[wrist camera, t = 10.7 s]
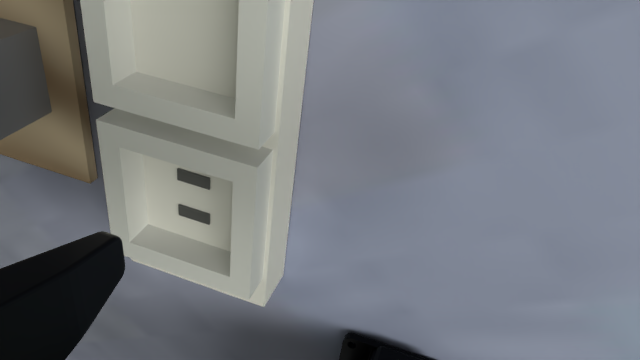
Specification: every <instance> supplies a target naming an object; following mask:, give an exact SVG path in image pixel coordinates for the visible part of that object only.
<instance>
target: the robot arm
mask: <svg viewBox="0 0 640 360" xmlns="http://www.w3.org/2000/svg"><path fill="white" fill-rule="evenodd" d="M124 270H125V260H124V251H123V243H122V240H121V238H120V237H118V236H116V235H113V234H110V233H107V232H97V233H95V234H92V235H89V236H87V237H84V238H81V239H79V240H76V241H73V242H71V243H68V244H65V245H63V246H60V247H57V248H55V249H52V250H49V251H47V252H44V253H41V254H38V255H36V256H33V257H30V258H28V259H25V260H22V261H20V262H17V263H14V264H12V265H9V266H6V267H4V268H1V269H0V360H65V359H66V358H67V356H68V355H69V354H70V353H71V351H72V350H73V349H74V348H75V346H76V345H77V344H78V343H79V341H80V340H81V339H82V337H83V336H84V334H85V333H86V331H87V330H88V329H89V327H90V325H91V324H92V322H93V321H94V319H95V318H96V316H97V315H98V313H99V312H100V310H101V309H102V307H103V306H104V304H105V302H106V301H107V299H108V298H109V296H110V295H111V293H112V292H113V290H114V289H115V287H116V286H117V284H118V282H119V281H120V279H121V278H122V276H123V274H124ZM339 360H429V359H426V358H423V357H420V356H417V355H415V354H412V353H409V352H406V351H403V350H400V349H398V348H395V347H392V346H389V345H386V344H383V343H381V342H378V341H375V340H372V339H369V338H366V337H364V336H361V335H358V334H355V333H348V334H346V336H345V338H344V340H343V344H342V348H341V353H340V358H339Z"/></svg>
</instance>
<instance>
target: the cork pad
mask: <svg viewBox="0 0 640 360" xmlns="http://www.w3.org/2000/svg"><path fill="white" fill-rule="evenodd" d="M0 18H3V19H7V20H11V21H15V22H19V23H23V24H26V25H30V26H34V27H36V29H37V34H38V39H39V45H40V50H41V55H42V61H43V66H44V72H45V77H46V82H47V88H48V93H49V98H50V104H51V109H52V112H51V113H49V114H47V115H46V116H44V117H42V118H40V119H38V120H36V121H35V122H33V123H31V124H29V125H27V126H25V127H24V128H22V129H20V130H18V131H16V132H14V133H13V134H11V135H9V136H7V137H5V138H3V139H2V140H0V154H2V155H5V156H8V157H11V158H14V159H17V160H20V161H23V162H26V163H29V164H32V165H35V166H38V167H41V168H44V169H47V170H51V171H54V172H57V173H60V174H63V175H66V176H69V177H72V178H75V179H78V180H81V181H84V182H87V183H92V182H93V181H94V180H96V179H97V178H98V177H97V170H96V163H95V156H94V149H93V141H92V134H91V127H90V120H89V113H88V105H87V98H86V91H85V84H84V77H83V70H82V62H81V55H80V48H79V41H78V34H77V26H76V19H75V12H74V5H73V0H0Z"/></svg>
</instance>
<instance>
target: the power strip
mask: <svg viewBox="0 0 640 360" xmlns="http://www.w3.org/2000/svg"><path fill="white" fill-rule="evenodd" d="M313 1H314V0H80V3H81V11H82V18H83V26H84V34H85V41H86V49H87V56H88V64H89V72H90V79H91V87H92V94H93V102H95V103H99V104H102V105H106V106H109V107H113V108H114V109H112V110H111V111H109V112H108V113H106V114H104V115H103V116H101V117H99V118H98V119H96V125H97V132H98V140H99V147H100V155H101V163H102V170H103V178H104V185H105V193H106V201H107V208H108V216H109V223H110V231H111V234H113V235H116V236H118V237H120V238H121V240H122V243H123V251H124V256H127V257H130V258H131V259H132V260H133V261H135V262H138V263H141V264H144V265H147V266H149V267H152V268H155V269H158V270H161V271H164V272H166V273H169V274H172V275H175V276H178V277H180V278H183V279H186V280H189V281H192V282H194V283H197V284H200V285H203V286H206V287H209V288H211V289H214V290H217V291H220V292H223V293H225V294H228V295H231V296H234V297H237V298H240V299H242V300H245V301H248V302H251V303H254V304H256V305H259V306H262V307H265V305H266V303H267V302H268V300H269V298H270V297H271V295H272V293H273V292H274V290H275V288H276V286H277V285H278V283H279V281H280V280H281V278H282V276H283V274H284V265H285V255H286V246H287V237H288V228H289V219H290V210H291V201H292V192H293V183H294V174H295V165H296V156H297V146H298V137H299V128H300V119H301V110H302V101H303V92H304V83H305V74H306V65H307V56H308V46H309V37H310V28H311V19H312V10H313Z"/></svg>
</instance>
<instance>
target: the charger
mask: <svg viewBox="0 0 640 360" xmlns="http://www.w3.org/2000/svg"><path fill="white" fill-rule="evenodd" d="M51 112H52V109H51V104H50V98H49V93H48V88H47V82H46V77H45V72H44V66H43V61H42V55H41V50H40V45H39V39H38V34H37V29H36V27H34V26H30V25H26V24H23V23H19V22H15V21H11V20H7V19H3V18H0V140H2V139H3V138H5V137H7V136H9V135H11V134H13V133H14V132H16V131H18V130H20V129H22V128H24V127H25V126H27V125H29V124H31V123H33V122H35V121H36V120H38V119H40V118H42V117H44V116H46V115H47V114H49V113H51Z"/></svg>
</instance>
